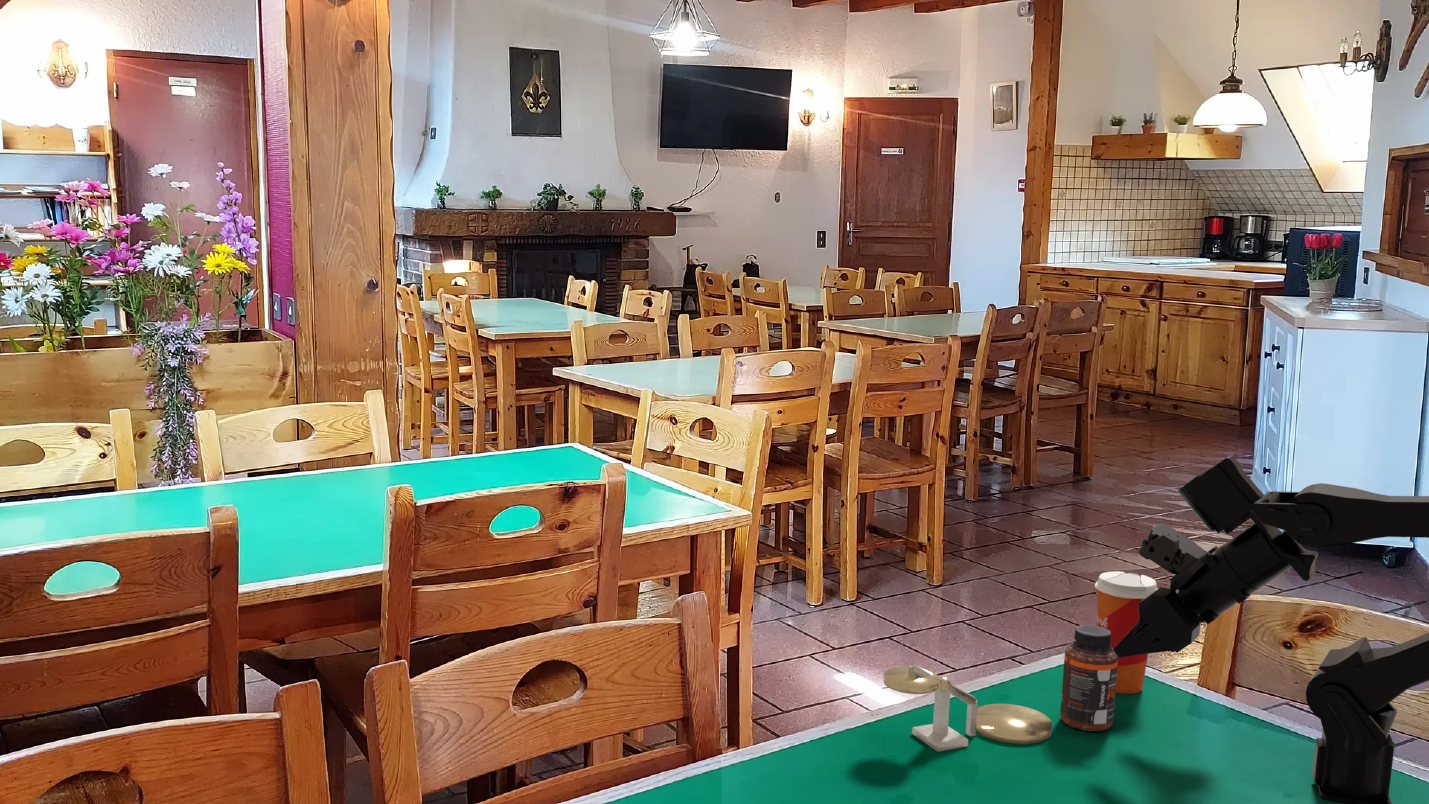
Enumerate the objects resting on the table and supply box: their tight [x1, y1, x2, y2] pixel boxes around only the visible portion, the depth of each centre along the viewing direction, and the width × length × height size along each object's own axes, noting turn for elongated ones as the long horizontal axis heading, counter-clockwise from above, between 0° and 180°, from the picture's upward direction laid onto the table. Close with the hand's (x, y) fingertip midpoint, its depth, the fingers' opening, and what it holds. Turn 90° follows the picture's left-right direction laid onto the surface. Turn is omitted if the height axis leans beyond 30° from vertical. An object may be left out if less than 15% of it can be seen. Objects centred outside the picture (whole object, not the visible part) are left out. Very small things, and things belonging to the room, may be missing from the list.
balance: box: [883, 663, 1053, 753], centre depth 137 cm, size 22×9×9 cm, turn 114°
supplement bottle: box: [1060, 624, 1118, 732], centre depth 142 cm, size 6×6×11 cm
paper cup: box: [1094, 570, 1158, 695], centre depth 153 cm, size 8×8×14 cm
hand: (1128, 642), depth 139 cm, fingers open, 9 cm apart
